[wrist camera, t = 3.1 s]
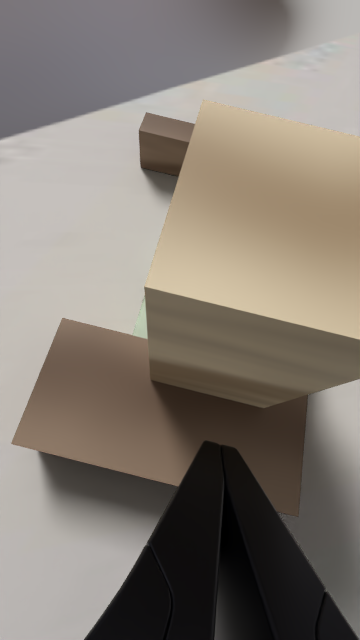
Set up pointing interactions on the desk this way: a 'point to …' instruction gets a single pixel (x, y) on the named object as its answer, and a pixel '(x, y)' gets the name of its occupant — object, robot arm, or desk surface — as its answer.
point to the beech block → (258, 261)
